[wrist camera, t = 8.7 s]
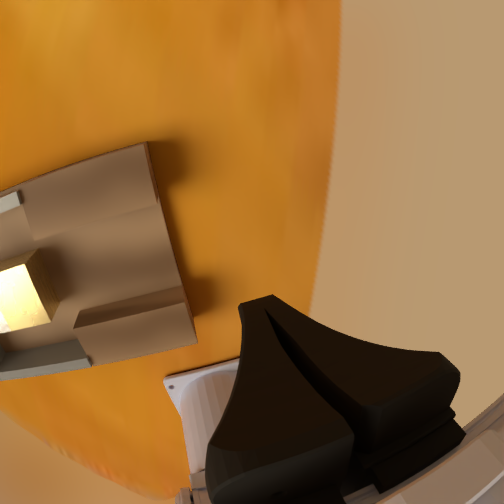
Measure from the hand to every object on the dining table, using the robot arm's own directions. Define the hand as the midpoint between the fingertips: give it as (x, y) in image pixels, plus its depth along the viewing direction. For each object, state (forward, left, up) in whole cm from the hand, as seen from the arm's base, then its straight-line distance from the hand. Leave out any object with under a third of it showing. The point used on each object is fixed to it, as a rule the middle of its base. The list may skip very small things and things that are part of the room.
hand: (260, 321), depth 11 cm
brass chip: (+1, +13, -9) cm, 16 cm away
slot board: (0, +11, -10) cm, 15 cm away
